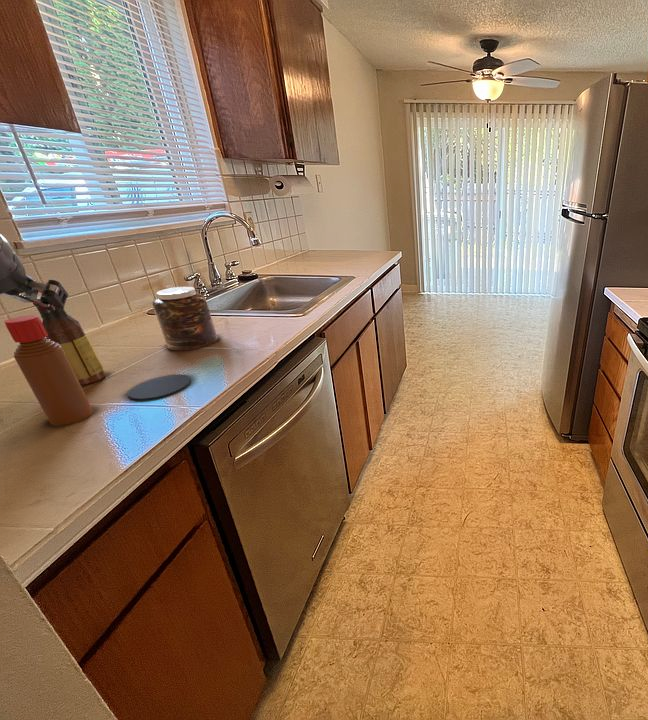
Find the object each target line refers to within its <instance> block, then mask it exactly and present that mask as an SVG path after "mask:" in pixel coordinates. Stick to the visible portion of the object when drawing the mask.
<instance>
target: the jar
mask: <svg viewBox="0 0 648 720" xmlns="http://www.w3.org/2000/svg"><path fill="white" fill-rule="evenodd" d="M156 296H157V298H156V299H155V300H153V301H152V307H153V308H152V309H153V311H154V314H155V317H156V320H157V322H158V325H159V328H160V331H161V334H162V337H163V339H164V342H165V345H166V347H167V349H169V350H171V351H190V350H191V351H192V350H195V349H196V350H197V349H200V348H204V347H207V346H209V345H212V344H214V343H216V342H217V341H218V339H219V337H218V334H217V331H216V328H215V324H214V321H213V318H212V314H211V312H210V309H209V305H208V303H207V300H206V298H205V297H206V296H204V294H201V293H198V292H197V291H196V288H195V287H193V286H176V287H169V288H164V289H160V290H157V291H156Z"/></svg>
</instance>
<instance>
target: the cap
mask: <svg viewBox="0 0 648 720" xmlns="http://www.w3.org/2000/svg"><path fill="white" fill-rule="evenodd" d="M40 318H41V317H39V315H37V314H31V315H30V314H29V315H21V316H16V317H12V318H9V319H6V320H4V321H3V323H4V324H5V327H6V329H7V330H8V333H9V334H10V336H11V339H12V340H13V341H14V343H21V342H30V341H35V340H39V339H42V338H45V337H46V336H48V335H47V332H46V330H45V328H44V326H43V324H42V322H43V321H42V319H40Z"/></svg>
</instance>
